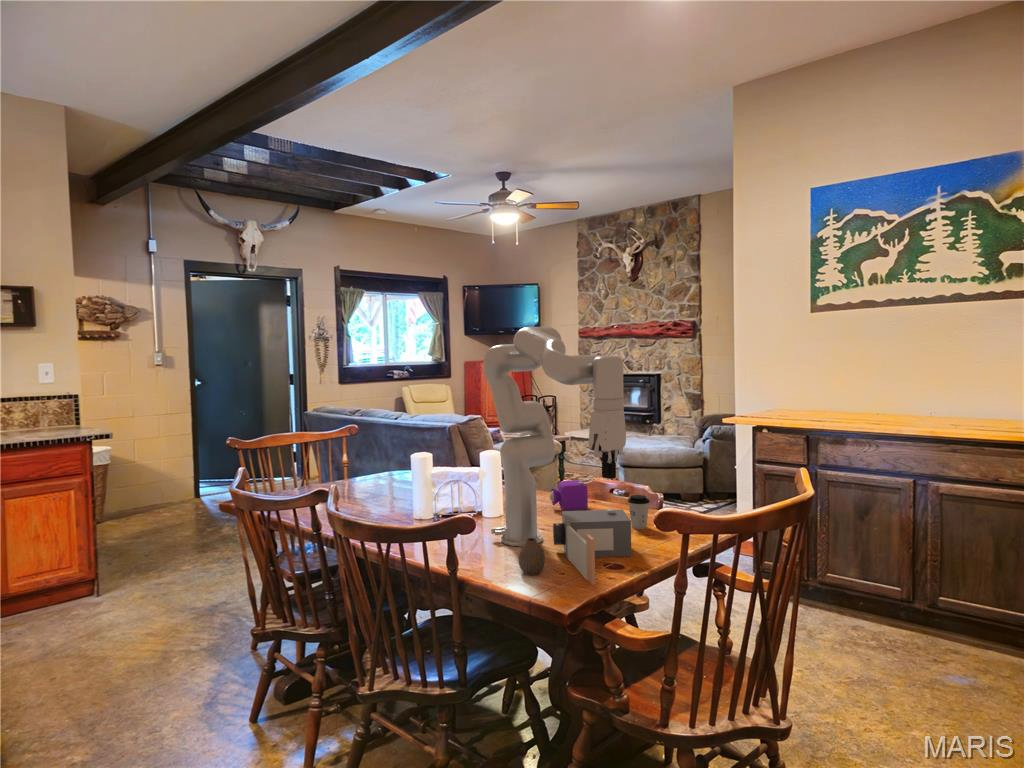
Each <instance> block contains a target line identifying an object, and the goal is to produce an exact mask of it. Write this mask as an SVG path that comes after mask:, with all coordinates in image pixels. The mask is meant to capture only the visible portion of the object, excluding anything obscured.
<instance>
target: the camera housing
mask: <svg viewBox="0 0 1024 768" xmlns="http://www.w3.org/2000/svg"><path fill="white" fill-rule="evenodd" d="M566 523H570V526H571V527H572V528H573V529H574V530H575V531H576V532H577V533H578V534H579V535H580V536H581V537H582V538H583V539H584V540H585V541H586V535H590V536H591V537H592V538H594V544H595V558H614V557H615V558H618V557H620V558H622V557H632V524H631V518H630V517H629V516H628V515H627V513H626V512H625V510H624V509H623V508H621V509H615V508H609V509H593V510H592V509H590V510H587V509H586V510H575V511H565V510H562V511H561V522H558V523H553V524H552V537H553V538H552V539H553V540H552V541H553V545H554V546H560V545H561V546H562V547H563V550H564V554H565V555H566ZM565 558H566V559H567V557H566V556H565Z"/></svg>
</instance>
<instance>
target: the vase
mask: <svg viewBox="0 0 1024 768" xmlns="http://www.w3.org/2000/svg"><path fill="white" fill-rule="evenodd" d="M545 564H546V556H545V552H544V550H543V548H542V547H541V546H540V543H537V541H536V539H535V538H528V539H527V540H526V542H525V544H524V545H523V546H521V548H520V550H519V551H518V565H519V568H520V570H521V571H522V572H523V574H524V575H525V574H526V575H528V576H536V575H538V574H540V573H542V570H544V568H545Z"/></svg>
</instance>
